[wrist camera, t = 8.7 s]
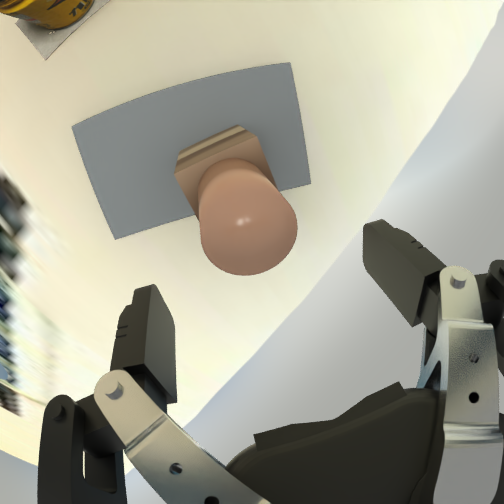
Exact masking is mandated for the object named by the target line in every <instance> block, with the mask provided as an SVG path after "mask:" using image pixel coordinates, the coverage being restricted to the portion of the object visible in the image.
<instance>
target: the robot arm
mask: <svg viewBox="0 0 504 504" xmlns="http://www.w3.org/2000/svg"><path fill="white" fill-rule="evenodd" d="M363 263H364V266H365V269H366V270H367V272H368V273H369V274H370V276H371V277H372V278H373V279H374V280H375V282H376V283H377V284H378V285H379V286H380V288H381V289H382V290H383V291H384V293H385V294H386V295H387V296H388V297H389V299H390V300H391V301H392V302H393V304H394V305H395V306H396V307H397V309H398V310H399V311H400V312H401V314H402V315H403V316H404V318H405V319H406V320H407V321H408V323H409V324H410V325H411V326H412V327H414V326H416V325H418V324H420V323H422V322H423V323H424V325H425V328H424V333H423V348H422V361H421V371H420V376H419V380H418V383H417V386H416V388H408V389H403V387H402V386H401V384H400V383H399V382H396V383H394V384H392V385H390V386H388V387H386V388H384V389H382V390H380V391H378V392H375V393H373V394H371V395H369V396H367V397H365V398H364V399H363V400H362V401H360V402H359V403H357V404H356V405H354V406H353V407H352V408H350V409H349V410H347V411H346V412H345V413H343V414H342V415H340V416H339V417H337V418H335V419H333V420H328V421H320V422H310V423H299V424H290V425H287V426H284V427H281V428H277V429H273V430H269V431H265V432H262V433H258V434H254V439H255V444H253V445H251V446H249V447H247V448H246V449H244V450H243V451H241V452H240V453H239V454H238V455H236V456H235V457H234V458H233V459H232V460H231V461H230V462H229V463H228V465H227V466H225V465H223V464H222V463H221V462H220V461H218V460H217V459H216V458H215V457H214V456H212V455H211V454H210V453H209V452H207V451H206V450H205V449H204V448H203V447H202V446H200V445H199V444H198V443H197V442H196V441H195V440H194V439H193V438H192V437H191V436H189V435H188V434H187V433H186V432H185V431H184V430H183V429H182V428H181V427H180V426H179V425H178V424H177V423H176V422H175V421H174V420H173V419H172V418H171V417H170V416H169V415H168V414H167V404H171V403H177V388H176V360H175V325H174V321H173V318H172V315H171V313H170V311H169V309H168V307H167V305H166V303H165V302H164V300H163V298H162V296H161V294H160V292H159V290H158V288H157V286H156V285H155V284H152V285H148V286H145V287H141V288H138V289H135V291H134V295H133V300H132V304H131V305H127V306H126V307H125V309H124V310H123V312H122V313H121V315H120V317H119V321H118V326H117V328H118V330H117V332H116V339H115V342H114V348H113V354H112V360H111V366H110V372H108V373H106V374H105V375H103V376H102V377H101V378H100V380H99V381H98V382H97V384H96V386H95V389H94V394H92V395H90V396H87V397H85V398H83V399H81V400H79V401H77V402H75V401H74V400H73V399H71V398H70V397H69V396H67V395H58V396H56V397H54V398H53V399H52V400H51V401H50V402H49V403H48V405H47V406H46V408H45V412H44V417H43V424H42V431H41V440H40V450H39V463H38V491H37V494H38V495H37V497H38V504H127V496H126V487H125V475H124V462H123V449H124V452H125V454H126V456H127V457H128V459H129V460H130V461H131V463H132V464H133V465H134V467H135V468H136V469H137V470H138V471H139V473H140V474H141V475H142V476H143V478H144V479H145V480H146V481H147V482H148V483H149V485H150V486H151V487H152V488H153V489H154V490H155V491H156V492H157V493H158V495H159V496H160V497H161V498H162V499H163V500H164V501H165V502H166V503H167V504H504V414H502V413H499V377H498V369H499V370H500V372H501V373H502V375H503V376H504V318H503V317H504V260H495V261H493V262H492V263H491V264H490V267H489V270H488V273H486V274H479V275H473V274H472V273H471V272H470V271H469V270H467V269H465V268H463V267H460V266H448V267H447V266H446V265H444V264H443V263H442V262H441V261H440V260H439V259H438V258H437V257H436V256H435V255H433V254H432V253H431V252H430V251H429V250H428V249H427V248H425V247H423V245H422V244H421V243H420V242H418V241H417V240H416V239H415V238H414V237H412V236H411V235H410V234H409V233H407V232H405V231H402V230H400V229H398V228H393V227H392V226H391V225H389V223H387V222H386V221H385V220H383V219H381V220H377V221H374V222H370V223H367V224H365V225H364V227H363ZM83 451H84V452H85V479H84V476H83Z"/></svg>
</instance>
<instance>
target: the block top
mask: <svg viewBox="0 0 504 504" xmlns="http://www.w3.org/2000/svg"><path fill="white" fill-rule="evenodd" d="M227 158H240V159H244V160H247V161H249V162H251V163H253V164H254V165H255V166H257V167H258V168H259V169H260V171H261V172H262V173H263V174H264V175H265V176H266V177H267V179H268V180H269V181H270V182H271V183H272V184H273V185H274V187H275V188H276V189H277V190H278V188H277V186H276V183H275V181H274V178H273V175H272V173H271V170H270V168H269V165H268V163H267V160H266V158H265V155H264V153H263V150H262V148H261V145H260V143H259V140H258V138H257V136H256V135H254V134H252V133H251V132H249V131H247V130H246V129H245V130H242V131H240V132H238V133H235V134H233V135H231V136H228V137H226V138H224V139H222V140H219V141H217V142H215V143H213V144H211V145H208V146H206V147H204V148H202V149H200V150H198V151H196V152H194V153H192V154H189V155H187V156H185V157H183V158H181V159H179V160H177V163H176V167H175V171H174V176H175V178H176V180H177V181H178V183H179V185H180V187H181V189H182V191H183V193H184V195H185V196H186V198H187V200H188V202H189V204H190V206H191V207H192V209H193V211H194V213H195V215H196V217H197V219H198V220H199V208H198V185H199V182H200V179H201V177H202V175H203V174H204V172H205V171H206V170H207V169H208V168H209V167H210V166H211V165H213V164H214V163H216V162H218V161H220V160H223V159H227Z"/></svg>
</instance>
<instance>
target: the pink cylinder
mask: <svg viewBox="0 0 504 504" xmlns="http://www.w3.org/2000/svg"><path fill="white" fill-rule="evenodd" d="M198 208H199V222H200V235H201V244H202V247H203V250H204V252H205V254H206V256H207V257H208V259H209V260H210V261H211V262H212V263H213V264H214V265H215V266H216V267H218V268H219V269H221V270H223V271H225V272H227V273H230V274H235V275H243V276H244V275H255V274H259V273H262V272H265V271H267V270H269V269H271V268H273V267H275V266H276V265H277V264H279V263H280V262H281V261H282V260H283V259H284V258H285V257H286V256H287V255H288V254H289V252H290V250H291V249H292V247H293V245H294V243H295V240H296V236H297V219H296V215H295V213H294V210H293V209H292V207H291V205H290V204H289V203H288V202H287V201H286V199H285V198H284V197H283V196H282V195H281V194H280V192H279V191H278V190H277V189H276V188H275V187H274V185H273V184H272V183H271V182H270V181H269V180H268V179H267V177H266V176H265V175H264V174H263V173H262V172H261V171H260V169H259V168H258V167H257V166H255V165H254V164H253V163H251V162H249V161H247V160H244V159H240V158H227V159H223V160H220V161H218V162H216V163H214V164H213V165H211V166H210V167H209V168H208V169H207V170H206V171H205V172H204V174H203V175H202V177H201V179H200V182H199V185H198Z"/></svg>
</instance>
